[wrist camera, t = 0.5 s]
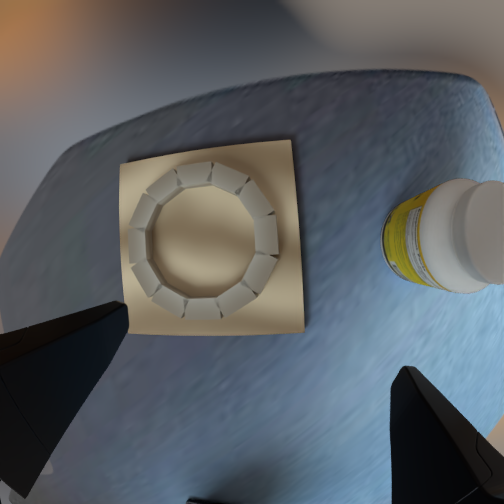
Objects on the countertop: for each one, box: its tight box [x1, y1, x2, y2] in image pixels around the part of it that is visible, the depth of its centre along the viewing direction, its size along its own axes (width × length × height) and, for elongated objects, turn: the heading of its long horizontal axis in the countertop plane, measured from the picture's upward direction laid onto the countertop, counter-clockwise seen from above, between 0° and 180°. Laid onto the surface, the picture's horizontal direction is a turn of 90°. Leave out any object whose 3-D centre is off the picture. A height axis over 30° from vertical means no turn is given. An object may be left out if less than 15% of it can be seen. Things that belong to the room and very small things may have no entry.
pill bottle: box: [380, 178, 504, 294], centre depth 15 cm, size 6×6×11 cm
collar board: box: [119, 140, 305, 336], centre depth 21 cm, size 14×14×2 cm
